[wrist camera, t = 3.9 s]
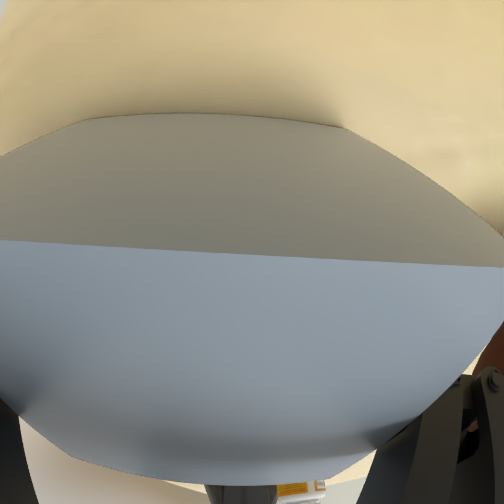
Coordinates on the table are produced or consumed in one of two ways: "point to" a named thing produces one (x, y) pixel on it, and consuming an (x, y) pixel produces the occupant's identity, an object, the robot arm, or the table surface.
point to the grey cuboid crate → (232, 295)
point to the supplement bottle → (301, 492)
